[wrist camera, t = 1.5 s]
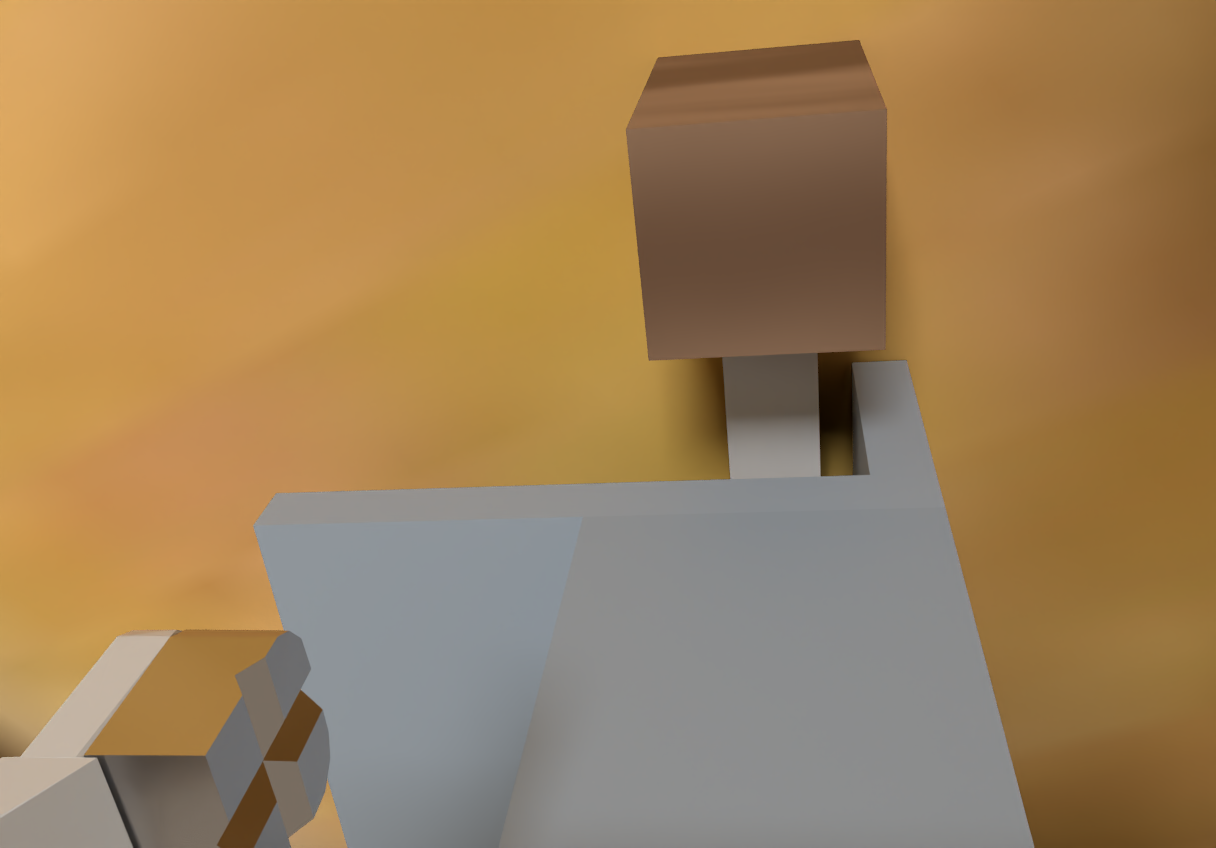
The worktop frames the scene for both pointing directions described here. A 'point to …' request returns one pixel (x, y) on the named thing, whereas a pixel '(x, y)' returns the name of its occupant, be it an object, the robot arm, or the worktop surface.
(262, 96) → the worktop surface
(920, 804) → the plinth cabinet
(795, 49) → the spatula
